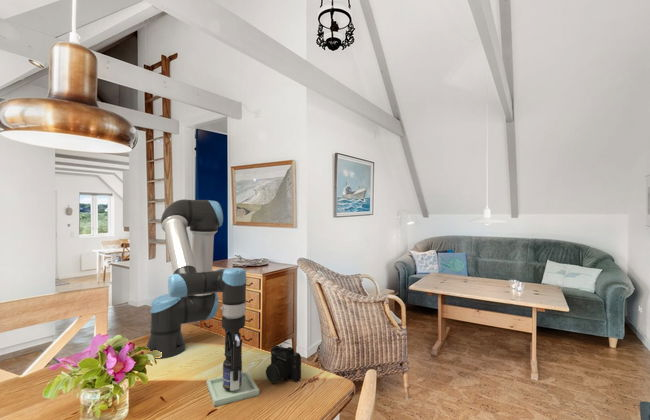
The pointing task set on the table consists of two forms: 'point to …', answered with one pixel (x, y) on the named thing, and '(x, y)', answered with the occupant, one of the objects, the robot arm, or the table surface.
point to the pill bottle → (227, 373)
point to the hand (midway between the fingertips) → (232, 384)
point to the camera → (284, 365)
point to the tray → (227, 396)
